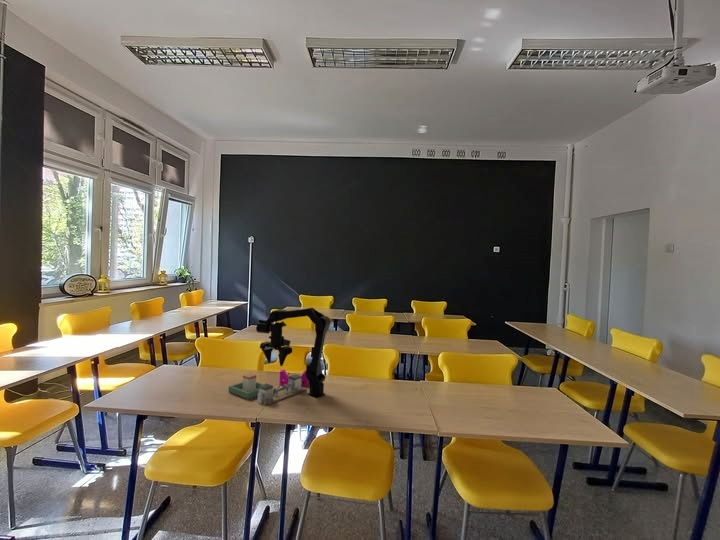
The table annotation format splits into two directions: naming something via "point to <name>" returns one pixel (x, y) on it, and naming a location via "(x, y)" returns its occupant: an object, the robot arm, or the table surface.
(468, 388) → the table surface
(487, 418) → the table surface
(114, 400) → the table surface
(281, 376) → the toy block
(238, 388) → the tray
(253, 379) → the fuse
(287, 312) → the robot arm
